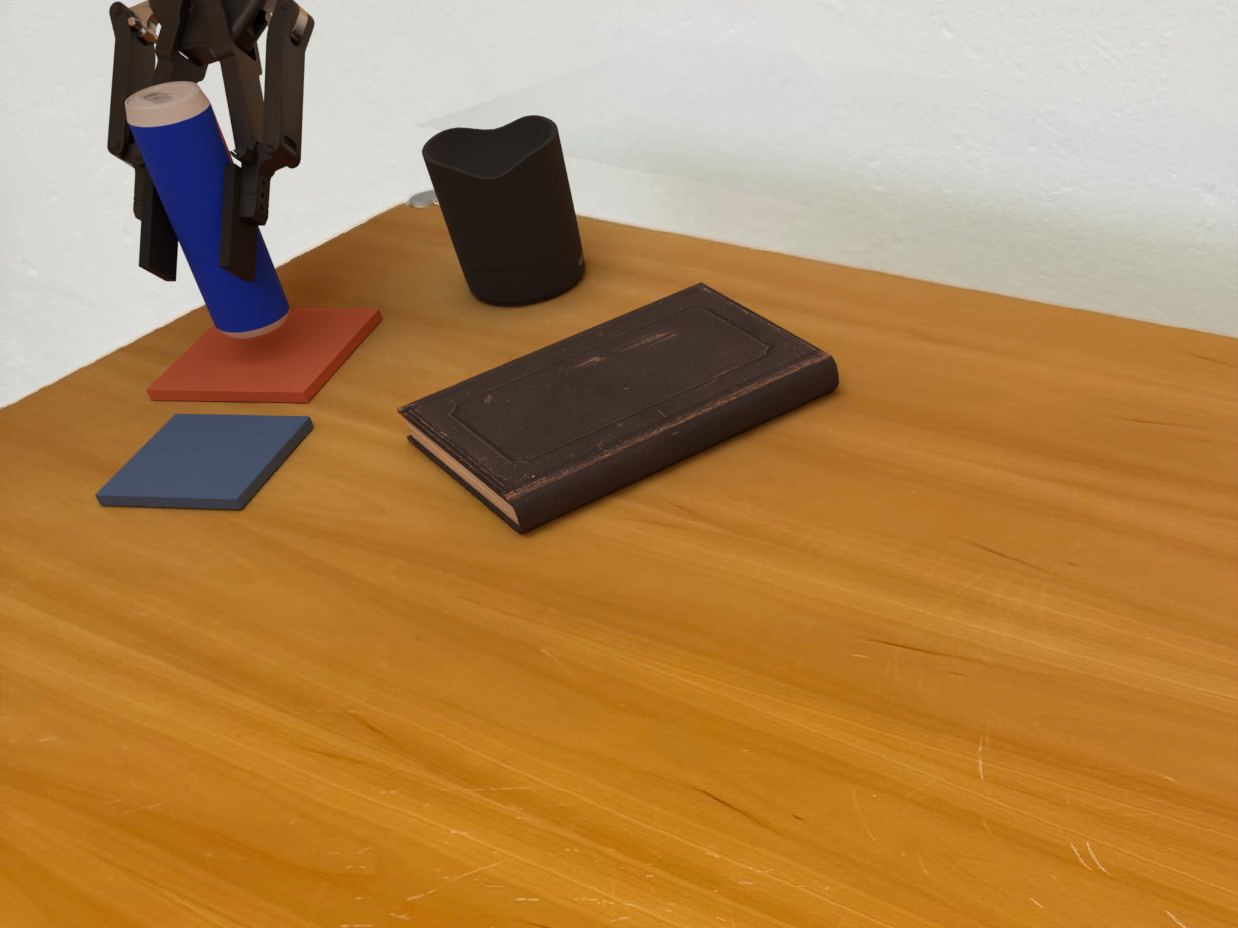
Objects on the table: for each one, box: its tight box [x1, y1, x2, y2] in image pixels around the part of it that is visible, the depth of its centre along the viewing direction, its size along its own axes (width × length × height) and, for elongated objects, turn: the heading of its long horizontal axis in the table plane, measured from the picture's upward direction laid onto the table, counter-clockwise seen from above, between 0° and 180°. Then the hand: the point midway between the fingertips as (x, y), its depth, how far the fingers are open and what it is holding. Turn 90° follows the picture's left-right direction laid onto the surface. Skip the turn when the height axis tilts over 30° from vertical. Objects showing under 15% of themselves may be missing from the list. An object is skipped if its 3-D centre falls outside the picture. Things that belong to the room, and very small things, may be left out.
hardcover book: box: [396, 281, 840, 534], centre depth 103 cm, size 16×23×2 cm
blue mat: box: [94, 413, 314, 511], centre depth 104 cm, size 10×10×1 cm
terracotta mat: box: [145, 307, 383, 404], centre depth 114 cm, size 12×12×1 cm
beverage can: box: [125, 81, 291, 339], centre depth 107 cm, size 5×5×15 cm
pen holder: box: [421, 114, 586, 307], centre depth 115 cm, size 9×9×10 cm
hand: (197, 273), depth 106 cm, fingers closed on beverage can, 5 cm apart
